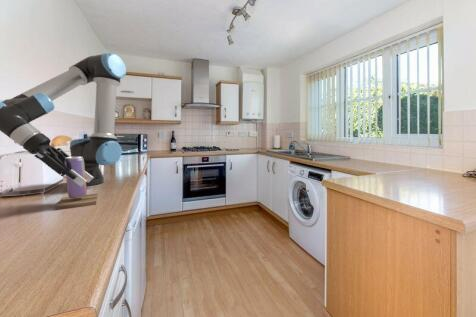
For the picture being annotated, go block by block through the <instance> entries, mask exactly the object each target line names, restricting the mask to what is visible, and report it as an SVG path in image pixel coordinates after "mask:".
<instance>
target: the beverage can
mask: <svg viewBox="0 0 476 317" xmlns="http://www.w3.org/2000/svg"><path fill="white" fill-rule="evenodd" d="M65 165H66V166H67V167H68V168H69V169H70V170H71V169H72V170H73V171H75V172H76V173H77V174H79V175H80V176H81V177H83V178H84V179H85V180H86V176H85V165H84V159H83V157H82V156H76V157H71V156H70V157H66V158H65ZM70 170H69V171H70ZM65 179H66V190H67V197H69V198H80V197H84V196H86V195H88V190H87V187H88V186H86V183H85V184H84V185H83V186H79V185H78V184H77V183H75V182H74V181H73V180H71V179H70V178H69V177H67V176H66V175H65Z"/></svg>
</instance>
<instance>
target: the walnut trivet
mask: <svg viewBox="0 0 476 317" xmlns="http://www.w3.org/2000/svg"><path fill="white" fill-rule="evenodd" d="M98 198H99V195H98V193H93V194H86V196H84V197H80V198H69V197H68V196H66V197H61V198H60V200H59V201H58V202H57V204H56V205H55V210H56V211H57V210H59V211H60V210H65V209H66V210H67V209H71V208H72V209H73V208H79V207H86V206H87V207H88V206H93V205H97V202H98Z"/></svg>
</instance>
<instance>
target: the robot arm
mask: <svg viewBox="0 0 476 317" xmlns="http://www.w3.org/2000/svg"><path fill="white" fill-rule="evenodd" d="M126 74H127V68H126V65H125V62H124V61H123V59H122V58H121V57H120V56H119V55H118V54H116V53H113V52H104V53H101V54H96V55H90V56H88V57H85V58H83V59H82V60H80V61H78V62H77V63H75V64H72V65H71V66H69V68H68V70H66V71H64V72H62V73H60V74H58V75H57V76H54V77H52V78H50V79H48V80H46V81H44V82H42V83H40V84H38V85H36V86H33V87H32V88H30V89H28V90H25V91H24V92H22V93H20V94H18V95H16V96H14V97H12V98H9V99H4V100H2V101H0V132H1V133H3V134H4V135H6V136H7V137H8V138H10V139H11V140H12V141H13V142H14V143H15V144H17V145H19V146H20V147H22V148H23V149H24V150H26V151H27V152H28V153H29V154H31V155H34V157H35V158H36V159H38V160H39V161H41V162H43V164H45V165H46V166H48V168H50V169H51V170H53V171H54V172H55V173H56V174H58V175H60V176H61V177H64V176H65V177H66V176H67V177H69V178H70V179H71V180H73V181H74V182H75V183H77V184H78V185H79V186H83V185H84V184H85V183H86V187H89V186H90V187H91V186H95V185H99V184H102V183H104V182H105V178H104V175H103V173H102V171H101V168H100V165H101V166H110V165H114V164H116V163H117V162H118V161H119V160H120V159H121V157H122V153H123V150H122V146H121V145H120V144H119V142H118V138H117V136H116V135H115V123H116V121H115V120H116V107H117V105H116V104H117V102H116V101H117V88H118V87H119V86H120V85H121V79H122V78H123V77H125V76H126ZM93 82H95V84H96V89H95V91H96V92H95V108H94V109H95V110H94V123H93V124H94V125H93V133H92V134H91V135H90V136H89V138H88V137H86V138H79V139H78V138H77V139H72V140H70V142H69V150H70V152H69V153H70V154H67V153H66V152H65V151H63V149H61V147H58V148H57V147H54V146H53V145H51V141H52V140H51V139H50V138H49V137H48V136H46V135H45V134H44V133H42V132H41V131H40V130H39V129H38V128H36V127H35V126H34V125H33V124H32V123H31V122H33V121H35V120H37V119H38V118H41V117H43V116H45V115H48V114H49V113H50V112H52V111H54V110H55V103H54V102H53V101H54V100H56V99H58V98H60V97H62V96H63V95H65V94H67V93H69V92H70V91H72V90H74V89H76V88H77V87H79V86H86V85H87V84H90V83H93ZM76 156H82V157H83V159H84V165H85V176H86V180H85V179H84V178H83V177H81V176H80V175H79V174H77V173H76V172H75V171H73V170H72V169H71V170H70V169H69V168H68V167H67V166H66V165H65V158H66V157H76ZM69 170H70V171H69Z"/></svg>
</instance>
